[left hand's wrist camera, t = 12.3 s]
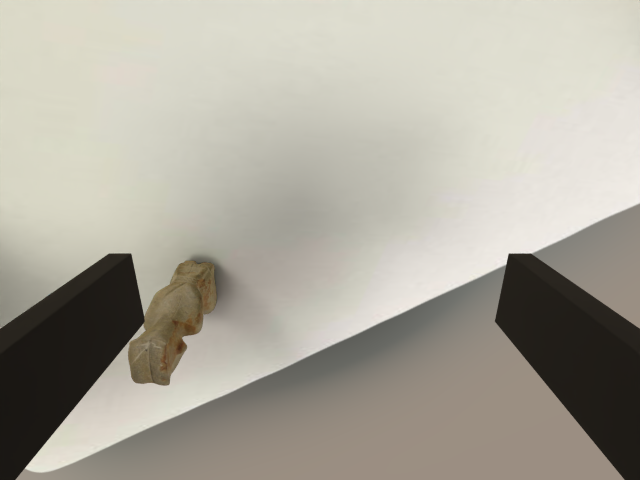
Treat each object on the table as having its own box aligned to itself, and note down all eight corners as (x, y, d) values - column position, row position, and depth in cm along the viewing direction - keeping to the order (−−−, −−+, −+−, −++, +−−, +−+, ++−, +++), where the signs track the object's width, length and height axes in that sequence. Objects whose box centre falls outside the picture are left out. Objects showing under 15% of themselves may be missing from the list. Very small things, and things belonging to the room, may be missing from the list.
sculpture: (176, 301, 46) (112, 387, 31) (179, 250, 43) (110, 319, 29) (222, 308, 46) (178, 397, 32) (226, 258, 43) (182, 330, 29)
